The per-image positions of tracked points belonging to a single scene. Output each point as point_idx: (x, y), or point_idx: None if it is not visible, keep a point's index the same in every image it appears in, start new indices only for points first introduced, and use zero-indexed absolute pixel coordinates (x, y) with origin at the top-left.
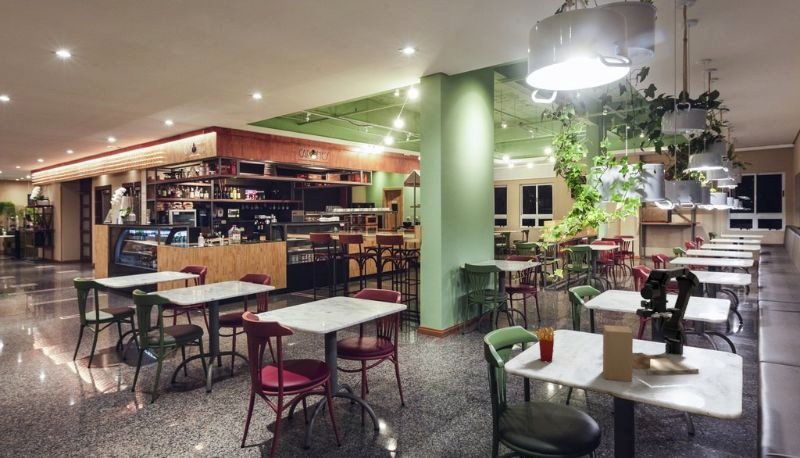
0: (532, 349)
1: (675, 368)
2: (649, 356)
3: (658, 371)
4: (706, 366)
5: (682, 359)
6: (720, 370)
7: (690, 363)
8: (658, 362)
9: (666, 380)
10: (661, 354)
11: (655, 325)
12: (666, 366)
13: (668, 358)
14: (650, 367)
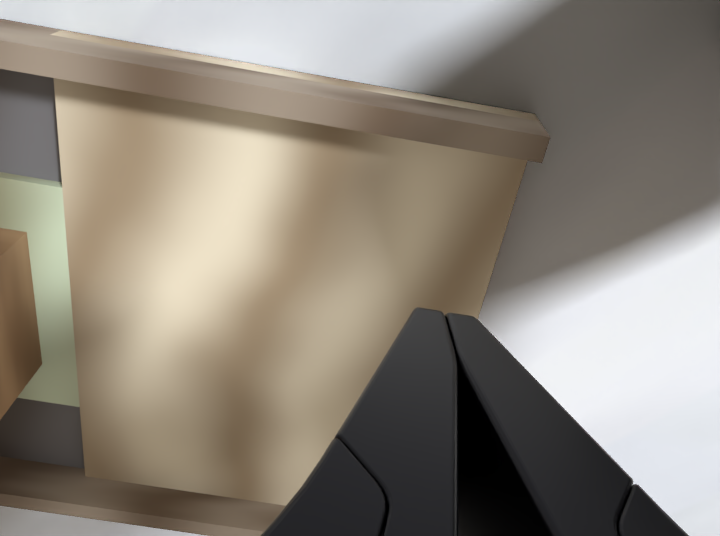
0: None
1: (299, 424)
2: (248, 104)
3: (18, 503)
4: (702, 416)
5: (713, 187)
6: (699, 506)
7: (646, 316)
8: (261, 251)
9: (60, 526)
10: (451, 133)
11: (354, 409)
12: (252, 366)
13: (511, 172)
14: (62, 343)
